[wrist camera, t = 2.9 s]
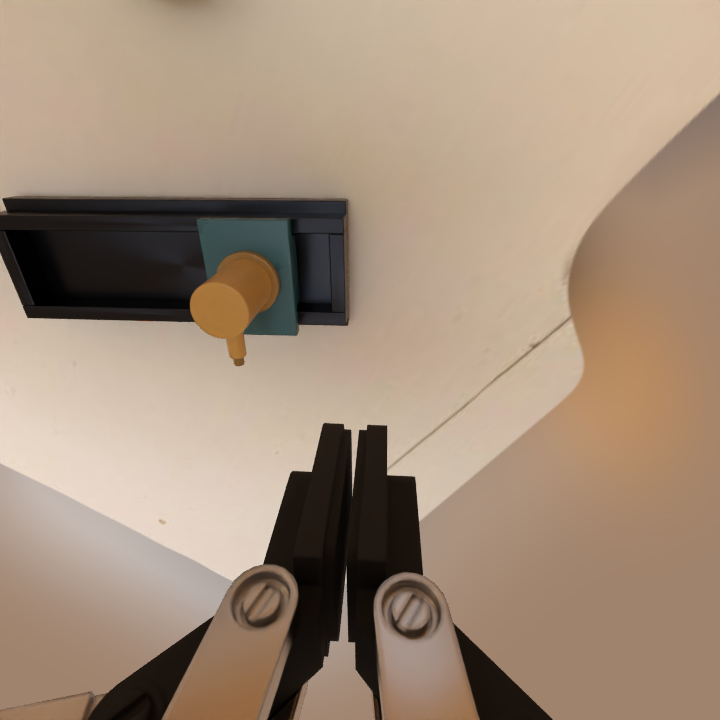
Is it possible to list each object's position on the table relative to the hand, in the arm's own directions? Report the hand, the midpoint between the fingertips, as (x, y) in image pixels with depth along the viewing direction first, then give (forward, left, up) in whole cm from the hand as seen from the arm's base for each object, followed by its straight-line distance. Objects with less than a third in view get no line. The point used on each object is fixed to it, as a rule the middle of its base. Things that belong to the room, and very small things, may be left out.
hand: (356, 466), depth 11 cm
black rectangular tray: (-14, 0, -21) cm, 25 cm away
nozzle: (-8, 0, -20) cm, 21 cm away
